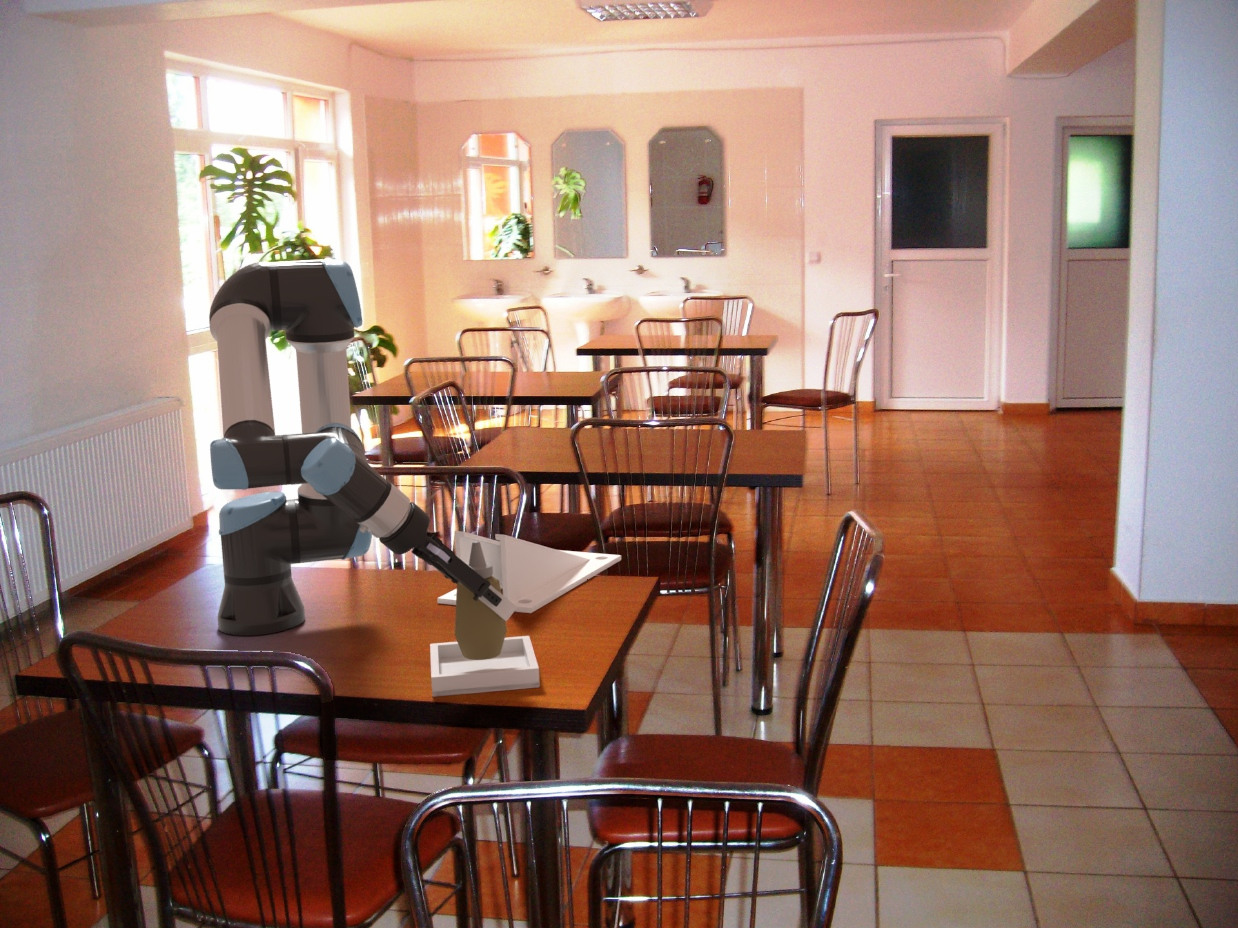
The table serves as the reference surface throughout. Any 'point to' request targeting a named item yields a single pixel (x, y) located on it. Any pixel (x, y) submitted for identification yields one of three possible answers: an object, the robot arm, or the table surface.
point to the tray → (483, 669)
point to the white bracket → (530, 569)
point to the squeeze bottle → (478, 615)
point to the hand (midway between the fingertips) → (501, 607)
